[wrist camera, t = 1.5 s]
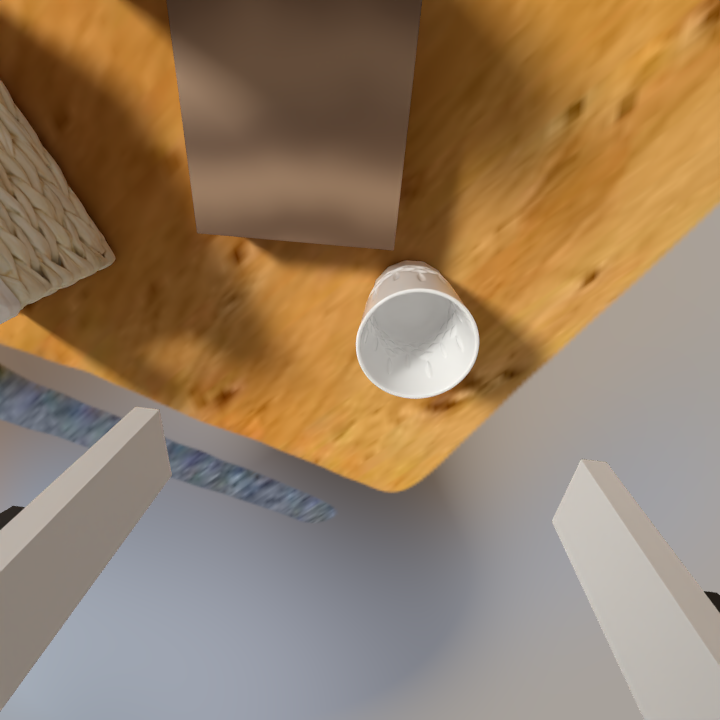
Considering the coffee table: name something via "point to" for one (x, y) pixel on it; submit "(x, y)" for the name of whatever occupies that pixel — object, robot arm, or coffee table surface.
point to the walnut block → (296, 115)
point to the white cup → (416, 333)
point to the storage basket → (39, 220)
